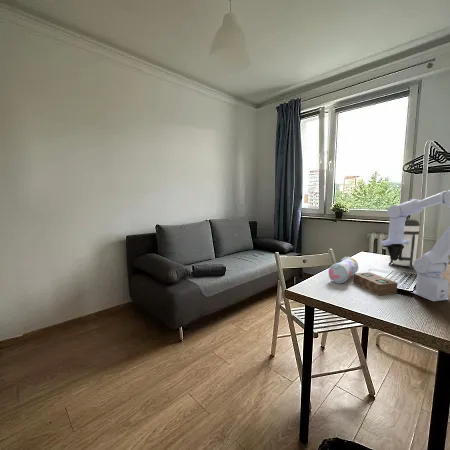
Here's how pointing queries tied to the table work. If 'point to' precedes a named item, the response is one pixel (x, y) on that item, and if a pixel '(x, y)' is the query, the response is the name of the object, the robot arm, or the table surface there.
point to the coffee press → (409, 250)
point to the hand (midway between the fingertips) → (393, 259)
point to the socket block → (375, 284)
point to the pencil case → (343, 270)
